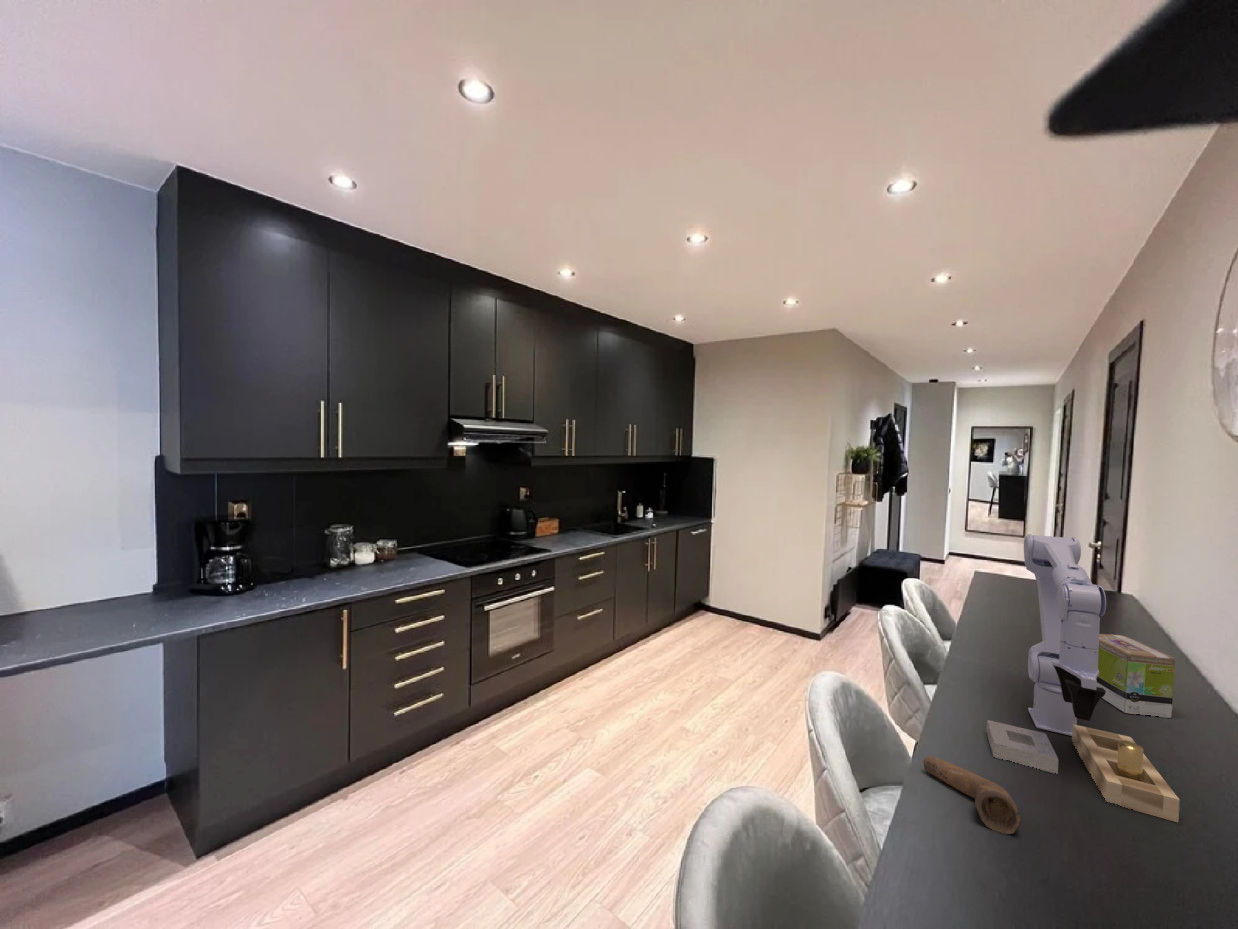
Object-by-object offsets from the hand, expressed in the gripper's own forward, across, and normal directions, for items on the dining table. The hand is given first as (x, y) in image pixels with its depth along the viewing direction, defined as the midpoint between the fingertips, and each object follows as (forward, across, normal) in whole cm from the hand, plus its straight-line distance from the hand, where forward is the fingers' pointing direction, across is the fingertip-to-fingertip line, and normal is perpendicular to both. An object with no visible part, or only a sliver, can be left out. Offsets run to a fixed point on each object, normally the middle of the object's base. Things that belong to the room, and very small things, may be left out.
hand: (1076, 710), depth 99 cm
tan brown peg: (+11, +7, +6) cm, 14 cm away
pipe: (+12, +25, -20) cm, 34 cm away
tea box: (+10, -39, +18) cm, 44 cm away
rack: (+10, +2, +6) cm, 12 cm away
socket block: (+10, +2, -9) cm, 14 cm away
